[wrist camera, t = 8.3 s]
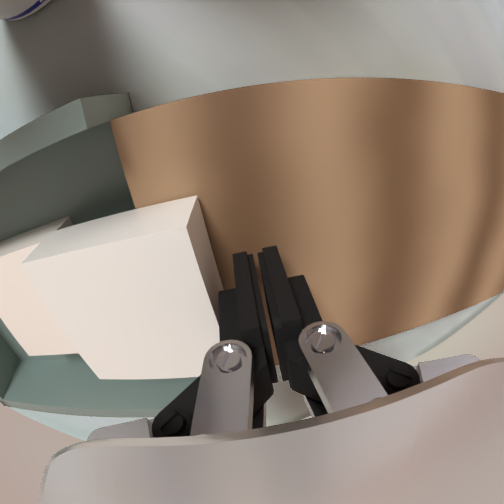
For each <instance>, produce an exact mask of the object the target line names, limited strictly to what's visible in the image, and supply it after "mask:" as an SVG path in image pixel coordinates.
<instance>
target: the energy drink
mask: <svg viewBox="0 0 504 504" xmlns="http://www.w3.org/2000/svg"><path fill="white" fill-rule="evenodd" d="M49 1H51V0H0V19H5V20H11V21H12V20H19V19H22V18H25V17H27V16H29V15H31V14H33V13H35V12H36V11H38V10H39V9H41V8H42V7H44V6H45V5H46V4H47V3H48V2H49Z"/></svg>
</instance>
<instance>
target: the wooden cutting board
mask: <svg viewBox="0 0 504 504" xmlns="http://www.w3.org/2000/svg"><path fill="white" fill-rule="evenodd" d="M110 122H111V126H112V130H113V134H114V138H115V142H116V145H117V149H118V153H119V156H120V160H121V163H122V167H123V170H124V173H125V177H126V180H127V183H128V186H129V190H130V193H131V196H132V199H133V202H134V205H135V208H136V209H138V208H142V207H147V206H151V205H155V204H159V203H164V202H168V201H173V200H177V199H182V198H187V197H192V196H196V195H197V196H198V200H199V204H200V208H201V212H202V215H203V219H204V223H205V226H206V230H207V234H208V237H209V241H210V244H211V248H212V251H213V255H214V258H215V262H216V265H217V269H218V272H219V276H220V279H221V283H222V286H223V289H224V290H227V289H233V288H235V277H234V267H233V256H232V254H234V253H239V252H244V251H247V255H249V254H253V257H254V262H255V267H256V272H257V277H258V282H259V287H260V292H261V297H262V302H263V307H264V312H265V317H266V322H267V327H268V332H269V337H270V342H271V347H272V353H273V358H274V363H275V365H278V364H279V360H278V355H277V351H276V346H275V341H274V337H273V332H272V328H271V323H270V318H269V314H268V309H267V303H266V298H265V292H264V287H263V281H262V276H261V271H260V265H259V260H258V254H257V253H259V252H263V251H262V248H265V247H270V246H275V245H276V246H277V249H278V251H279V254H280V257H281V260H282V263H283V266H284V269H285V272H286V275H287V278H288V277H293V276H298V275H304V277H305V279H306V281H307V284H308V286H309V289H310V291H311V293H312V296H313V298H314V301H315V303H316V306H317V308H318V311H319V313H320V316H321V318H322V321H328V322H333V323H336V324H337V325H339V326H341V327H342V328H343V329H344V330H345V332H346V333H347V335H348V336H349V338H350V339H351V341H352V342H353V343H354V345H357V346H358V345H361V344H365V343H368V342H372V341H375V340H379V339H382V338H385V337H388V336H391V335H395V334H398V333H401V332H404V331H407V330H410V329H413V328H416V327H418V326H421V325H424V324H427V323H430V322H432V321H435V320H438V319H440V318H443V317H446V316H448V315H451V314H453V313H456V312H458V311H461V310H463V309H466V308H468V307H470V306H473V305H475V304H477V303H480V302H482V301H484V300H487V299H489V298H491V297H493V296H495V295H497V294H500V293H502V292H503V289H504V93H499V92H495V91H490V90H485V89H480V88H475V87H469V86H463V85H457V84H450V83H442V82H433V81H423V80H411V79H395V78H326V79H309V80H296V81H286V82H277V83H268V84H261V85H254V86H247V87H241V88H235V89H229V90H223V91H218V92H213V93H208V94H203V95H199V96H194V97H190V98H186V99H181V100H177V101H173V102H170V103H166V104H162V105H158V106H155V107H151V108H148V109H144V110H141V111H138V112H135V113H131V114H128V115H125V116H122V117H119V118H116V119H113V120H111V121H110Z"/></svg>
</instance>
